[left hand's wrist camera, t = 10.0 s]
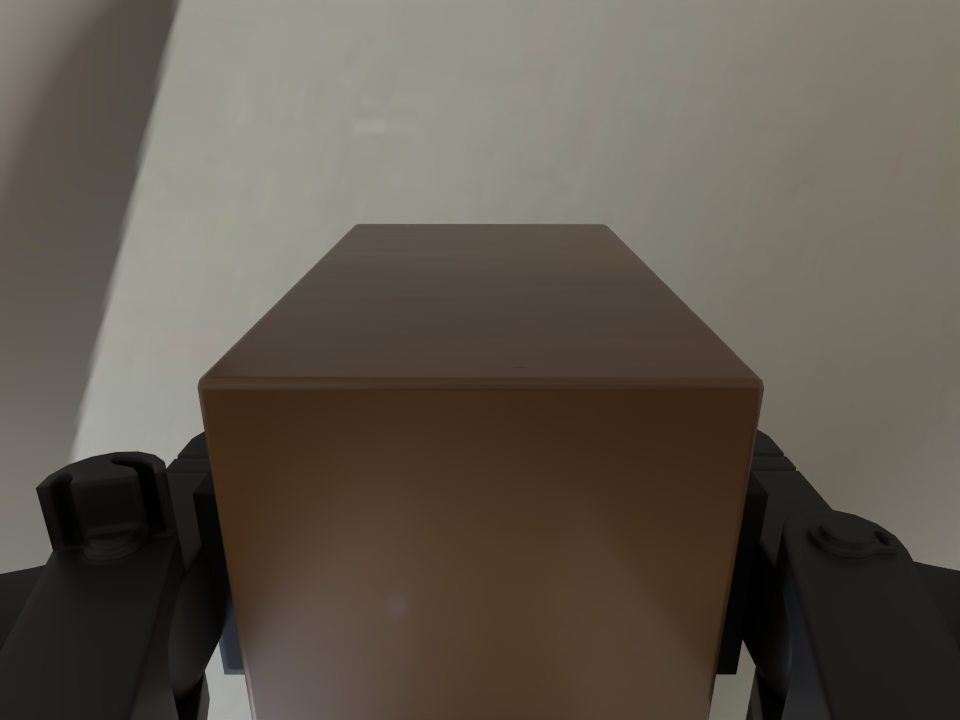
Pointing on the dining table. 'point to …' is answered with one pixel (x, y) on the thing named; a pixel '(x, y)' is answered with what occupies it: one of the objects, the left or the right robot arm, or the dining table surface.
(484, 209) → the dining table surface
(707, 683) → the bar
